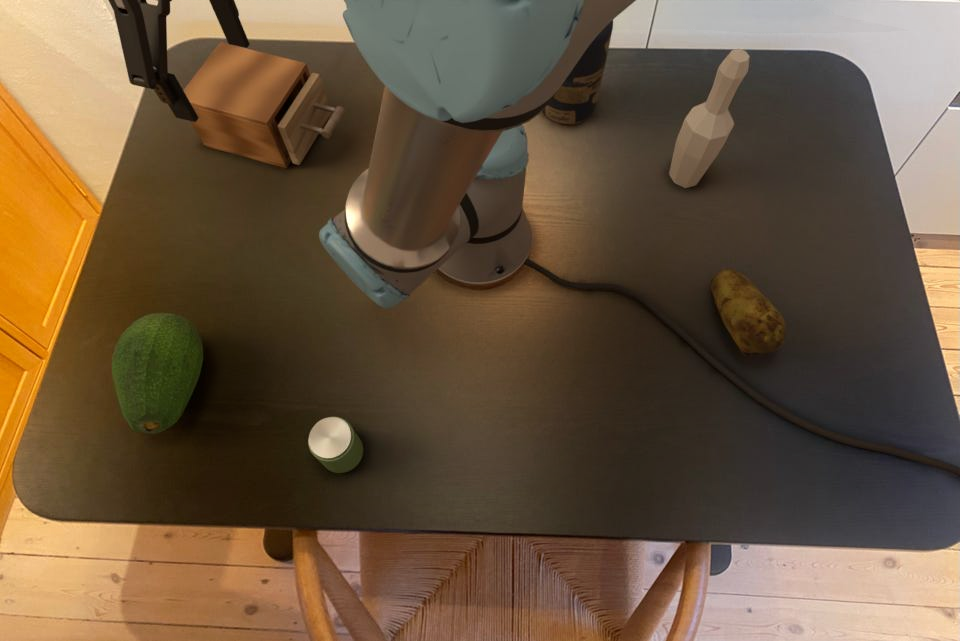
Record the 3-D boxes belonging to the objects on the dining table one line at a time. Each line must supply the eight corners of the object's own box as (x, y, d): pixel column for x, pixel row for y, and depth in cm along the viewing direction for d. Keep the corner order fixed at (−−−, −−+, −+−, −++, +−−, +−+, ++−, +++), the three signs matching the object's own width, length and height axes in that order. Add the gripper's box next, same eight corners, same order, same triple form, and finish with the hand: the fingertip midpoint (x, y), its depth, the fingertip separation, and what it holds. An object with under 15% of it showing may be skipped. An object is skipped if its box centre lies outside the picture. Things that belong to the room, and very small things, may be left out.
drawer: (359, 120, 97) (349, 81, 90) (328, 173, 92) (316, 136, 85) (256, 93, 100) (239, 54, 93) (222, 144, 95) (201, 105, 88)
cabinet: (321, 111, 99) (306, 63, 90) (286, 168, 94) (266, 122, 85) (242, 91, 101) (220, 41, 92) (203, 145, 96) (176, 98, 87)
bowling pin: (655, 172, 93) (701, 51, 73) (684, 153, 95) (737, 30, 75) (685, 199, 91) (741, 81, 71) (714, 178, 92) (777, 58, 73)
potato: (765, 286, 84) (791, 255, 77) (769, 372, 78) (798, 347, 71) (704, 278, 84) (725, 246, 77) (704, 362, 79) (726, 336, 72)
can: (370, 438, 74) (360, 423, 69) (352, 479, 72) (341, 466, 66) (331, 425, 75) (319, 409, 69) (313, 465, 73) (298, 451, 67)
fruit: (203, 442, 74) (164, 417, 65) (122, 443, 74) (72, 419, 65) (223, 331, 81) (191, 295, 72) (149, 333, 81) (108, 297, 72)
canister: (591, 133, 97) (613, 35, 80) (533, 124, 97) (542, 25, 81) (598, 90, 101) (620, -11, 85) (542, 82, 102) (553, -19, 86)
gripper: (158, -172, 63) (233, 11, 82) (8, -28, 53) (135, 145, 72) (222, -162, 62) (283, 21, 81) (83, -13, 52) (191, 158, 71)
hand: (214, 79), depth 76 cm, fingers open, 13 cm apart
